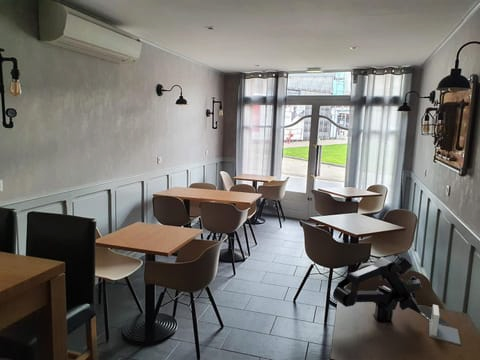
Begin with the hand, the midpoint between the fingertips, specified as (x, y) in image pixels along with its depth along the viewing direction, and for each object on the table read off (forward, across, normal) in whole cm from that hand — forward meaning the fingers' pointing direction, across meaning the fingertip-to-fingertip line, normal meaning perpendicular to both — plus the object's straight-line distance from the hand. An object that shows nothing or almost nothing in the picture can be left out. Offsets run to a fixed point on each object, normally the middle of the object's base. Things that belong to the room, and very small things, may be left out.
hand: (419, 312), depth 153 cm
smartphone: (+9, +13, +1) cm, 16 cm away
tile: (+8, -1, 0) cm, 8 cm away
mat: (+11, -1, -2) cm, 12 cm away
